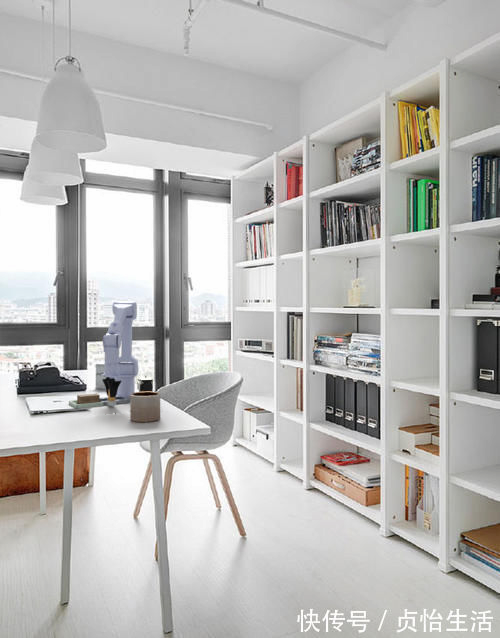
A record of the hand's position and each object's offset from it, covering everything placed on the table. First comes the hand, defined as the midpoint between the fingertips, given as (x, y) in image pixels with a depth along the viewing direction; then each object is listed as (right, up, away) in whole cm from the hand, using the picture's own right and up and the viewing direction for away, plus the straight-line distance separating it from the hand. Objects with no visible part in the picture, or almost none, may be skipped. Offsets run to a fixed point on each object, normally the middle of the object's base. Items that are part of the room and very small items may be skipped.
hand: (111, 396), depth 204 cm
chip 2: (-9, -4, +4) cm, 11 cm away
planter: (+18, -6, -20) cm, 27 cm away
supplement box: (-17, -3, +49) cm, 52 cm away
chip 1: (-12, -4, +2) cm, 13 cm away
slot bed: (-3, -4, +9) cm, 10 cm away
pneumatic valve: (+11, -5, +10) cm, 16 cm away
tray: (-11, -4, +3) cm, 12 cm away
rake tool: (0, -3, 0) cm, 3 cm away
